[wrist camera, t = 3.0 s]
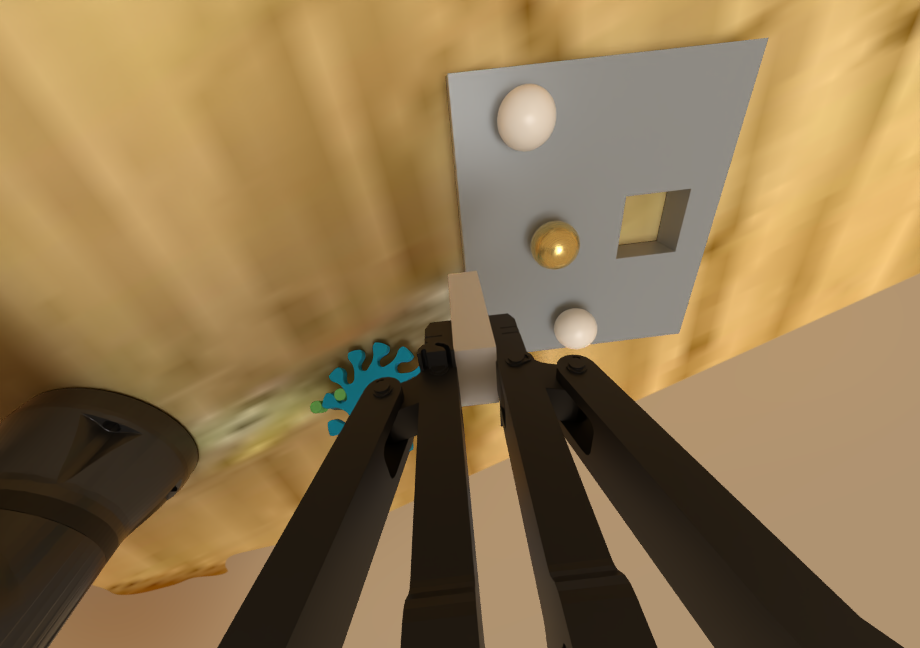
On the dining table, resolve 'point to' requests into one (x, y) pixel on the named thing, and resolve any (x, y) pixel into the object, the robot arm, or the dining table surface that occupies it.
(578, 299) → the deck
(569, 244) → the ball
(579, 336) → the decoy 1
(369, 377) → the gear
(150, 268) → the dining table surface
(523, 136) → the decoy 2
